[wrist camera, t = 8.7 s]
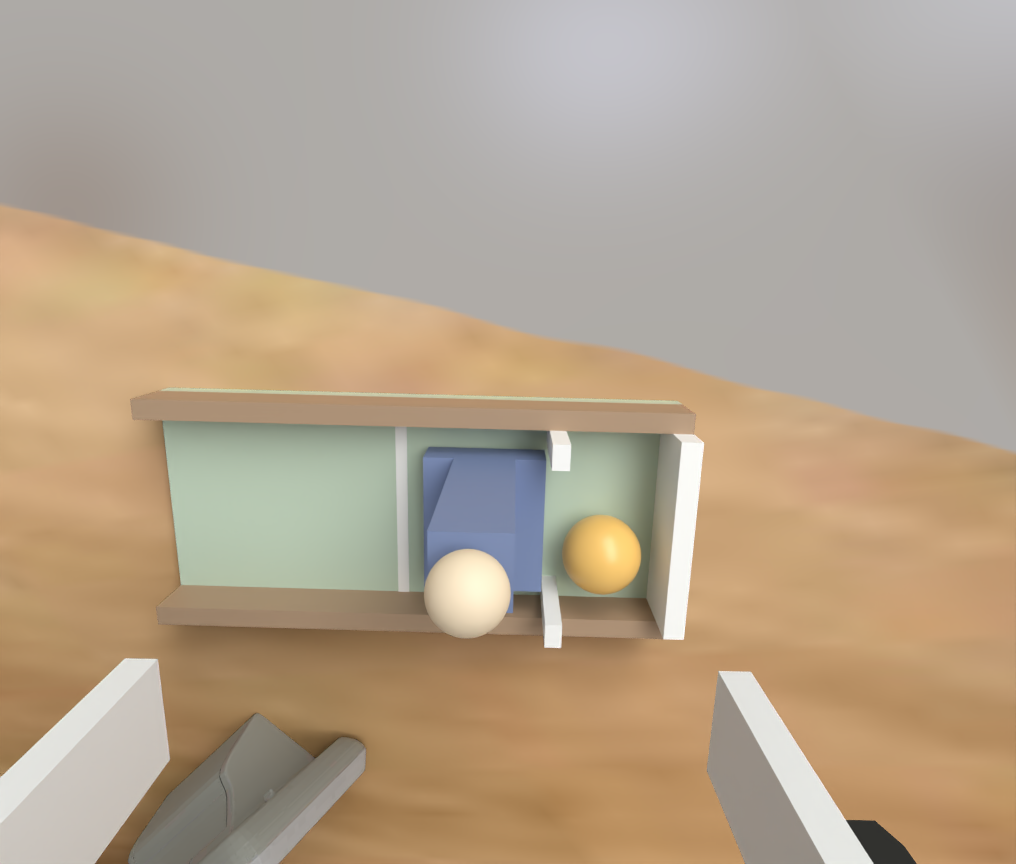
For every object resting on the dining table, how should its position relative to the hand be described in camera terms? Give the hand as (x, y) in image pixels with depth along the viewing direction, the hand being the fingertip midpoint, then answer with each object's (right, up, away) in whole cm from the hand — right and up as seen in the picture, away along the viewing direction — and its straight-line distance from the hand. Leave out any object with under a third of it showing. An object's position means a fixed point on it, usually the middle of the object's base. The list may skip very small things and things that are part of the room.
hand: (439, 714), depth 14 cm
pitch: (-3, +3, +19) cm, 20 cm away
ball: (+6, 0, +17) cm, 18 cm away
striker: (0, +2, +18) cm, 18 cm away
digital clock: (-14, -16, +24) cm, 32 cm away
